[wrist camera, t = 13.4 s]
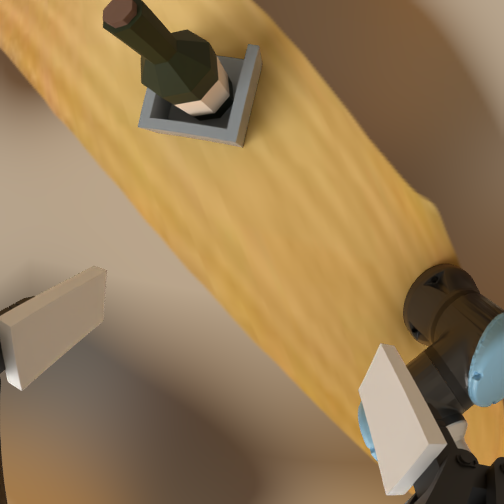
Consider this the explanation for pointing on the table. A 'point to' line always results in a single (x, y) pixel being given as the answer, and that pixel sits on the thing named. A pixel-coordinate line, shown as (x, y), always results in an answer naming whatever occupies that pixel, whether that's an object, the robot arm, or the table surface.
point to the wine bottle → (172, 60)
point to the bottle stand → (216, 130)
